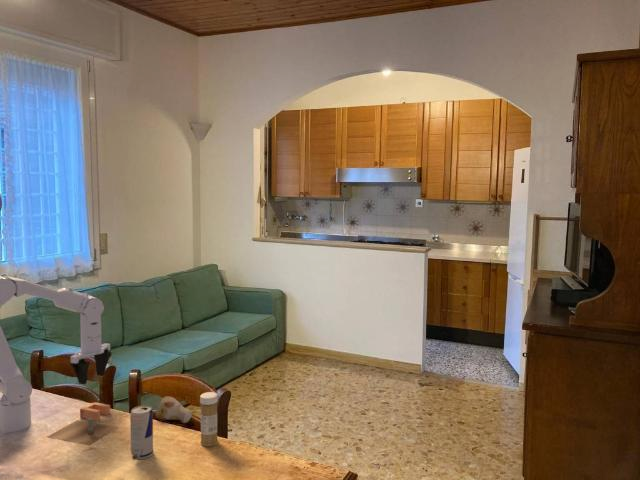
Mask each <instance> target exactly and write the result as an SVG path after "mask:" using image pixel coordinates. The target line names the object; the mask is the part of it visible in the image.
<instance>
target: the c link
mask: <svg viewBox="0 0 640 480" xmlns="http://www.w3.org/2000/svg"><path fill="white" fill-rule="evenodd" d="M109 414H111V405H110V404H106V403H102V402H95V401H94V402H90V403H89V404H87V405H85V406H83V407H82V408H79V416H80V418H81V419H86V420H88V419H89V418H93V421H100V420H101V415H105V416H108V415H109Z"/></svg>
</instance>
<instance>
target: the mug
mask: <svg viewBox="0 0 640 480" xmlns="http://www.w3.org/2000/svg"><path fill="white" fill-rule="evenodd" d="M155 417H156V419H159V420H164V421H165V420H166V421H167V420H180V421H179V423H182V424H187V423H188V422H189V421H190V419H192V418H193V415H192V411H191V410H190V409H188V408H186V407H184V406H183V405H182V404H181V403H180V402H179V401H178V400H177V399H176V398H174V397H173V396H169V395H167V396H166V395H165V397H163V398H162V399H161V401H160V402H159V404H158V407H157V409H156V412H155Z"/></svg>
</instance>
